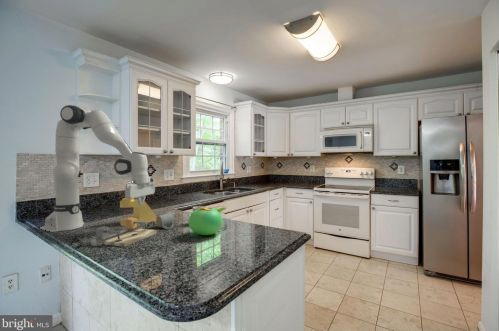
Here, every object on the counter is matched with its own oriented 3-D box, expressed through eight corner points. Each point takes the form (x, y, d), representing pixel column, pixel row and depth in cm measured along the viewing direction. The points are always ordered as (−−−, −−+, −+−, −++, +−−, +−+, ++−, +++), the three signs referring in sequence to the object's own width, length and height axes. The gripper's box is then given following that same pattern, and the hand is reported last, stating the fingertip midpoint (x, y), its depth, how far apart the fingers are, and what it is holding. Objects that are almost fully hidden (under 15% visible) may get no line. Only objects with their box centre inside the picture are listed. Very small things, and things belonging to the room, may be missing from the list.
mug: (196, 226, 142) (196, 209, 142) (186, 225, 147) (186, 208, 146) (209, 222, 152) (209, 206, 152) (199, 221, 156) (199, 205, 156)
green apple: (182, 235, 125) (181, 207, 125) (204, 228, 140) (204, 202, 139) (209, 241, 116) (208, 210, 116) (230, 232, 130) (229, 205, 130)
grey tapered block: (90, 245, 112) (89, 230, 112) (132, 230, 137) (132, 217, 137) (110, 247, 108) (110, 232, 108) (150, 231, 133) (150, 219, 133)
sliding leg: (125, 228, 132) (125, 219, 132) (131, 226, 136) (131, 217, 136) (144, 230, 128) (143, 220, 128) (149, 228, 132) (149, 218, 132)
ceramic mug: (155, 226, 143) (155, 213, 143) (169, 224, 149) (169, 211, 149) (163, 230, 135) (163, 217, 135) (177, 228, 141) (176, 214, 141)
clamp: (123, 226, 144) (123, 200, 144) (118, 224, 151) (117, 198, 150) (156, 220, 159) (155, 196, 158) (150, 218, 165) (149, 195, 165)
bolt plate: (104, 244, 113) (104, 240, 113) (138, 231, 134) (138, 228, 134) (124, 246, 110) (124, 243, 110) (157, 232, 131) (156, 229, 131)
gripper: (130, 182, 129) (132, 208, 129) (156, 178, 148) (157, 201, 149) (121, 182, 131) (122, 207, 131) (147, 178, 150) (148, 201, 151)
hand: (141, 204), depth 140 cm, fingers closed
